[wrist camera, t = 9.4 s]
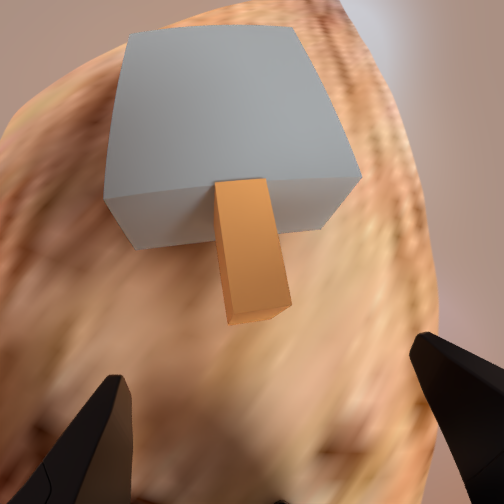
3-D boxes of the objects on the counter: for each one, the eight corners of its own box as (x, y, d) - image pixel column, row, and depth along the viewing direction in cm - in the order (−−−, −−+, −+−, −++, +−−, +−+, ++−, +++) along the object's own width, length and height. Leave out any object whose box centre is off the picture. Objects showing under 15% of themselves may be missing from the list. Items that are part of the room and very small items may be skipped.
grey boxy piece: (339, 309, 17) (398, 284, 11) (142, 339, 15) (103, 328, 9) (276, 85, 22) (292, 25, 17) (140, 94, 21) (129, 31, 15)
